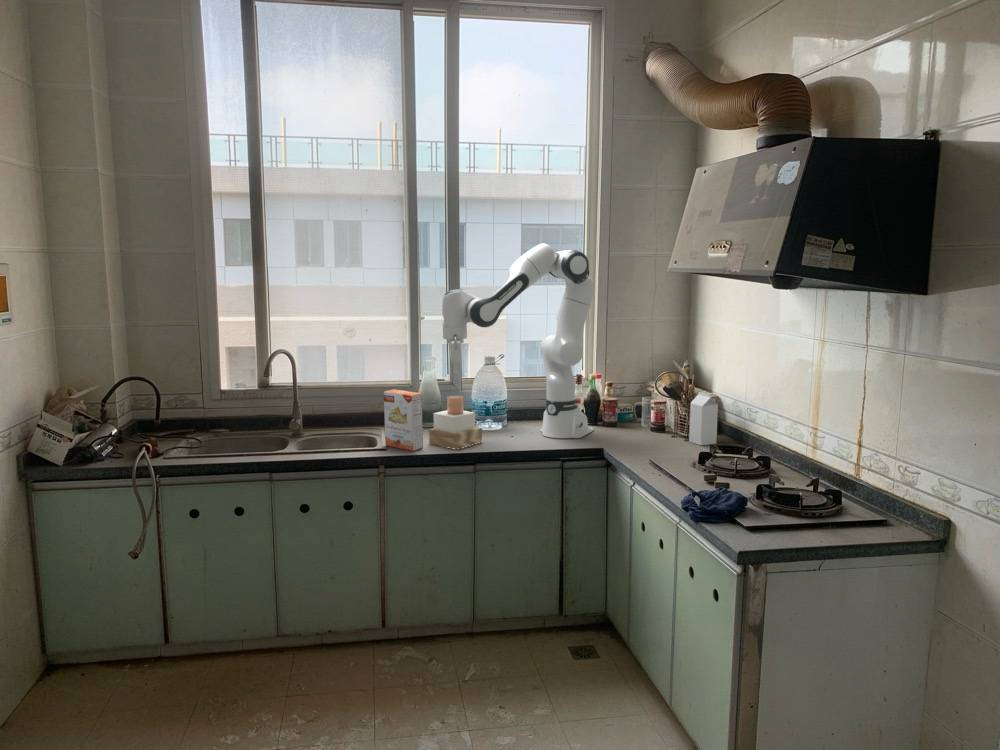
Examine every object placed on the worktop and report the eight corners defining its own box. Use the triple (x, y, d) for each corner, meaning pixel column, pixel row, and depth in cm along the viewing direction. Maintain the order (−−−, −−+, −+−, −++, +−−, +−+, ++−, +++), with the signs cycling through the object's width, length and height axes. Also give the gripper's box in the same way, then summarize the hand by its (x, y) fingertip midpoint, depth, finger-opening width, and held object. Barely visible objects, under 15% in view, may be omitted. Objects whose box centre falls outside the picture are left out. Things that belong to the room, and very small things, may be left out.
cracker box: (384, 446, 275) (382, 391, 272) (395, 443, 280) (394, 388, 276) (412, 452, 267) (411, 395, 263) (423, 448, 272) (422, 392, 268)
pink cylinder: (454, 410, 281) (454, 395, 280) (466, 412, 278) (466, 396, 277) (444, 413, 277) (443, 397, 276) (456, 415, 273) (455, 399, 272)
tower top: (454, 423, 286) (454, 408, 285) (475, 428, 279) (475, 412, 278) (433, 428, 278) (433, 413, 277) (454, 433, 270) (453, 417, 270)
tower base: (454, 437, 289) (454, 422, 288) (481, 443, 280) (481, 428, 279) (429, 444, 278) (429, 429, 277) (456, 451, 269) (456, 434, 268)
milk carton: (700, 446, 273) (702, 395, 270) (688, 441, 280) (690, 392, 277) (716, 444, 276) (718, 394, 273) (704, 439, 282) (706, 390, 279)
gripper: (464, 336, 262) (465, 375, 264) (462, 330, 282) (463, 366, 284) (446, 337, 261) (447, 375, 264) (446, 331, 281) (446, 367, 284)
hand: (455, 370), depth 274 cm, fingers open, 8 cm apart
